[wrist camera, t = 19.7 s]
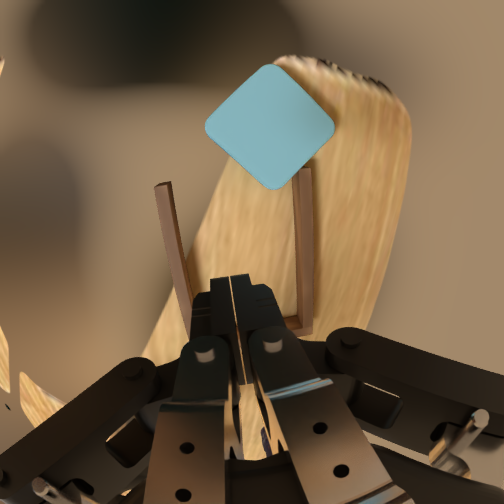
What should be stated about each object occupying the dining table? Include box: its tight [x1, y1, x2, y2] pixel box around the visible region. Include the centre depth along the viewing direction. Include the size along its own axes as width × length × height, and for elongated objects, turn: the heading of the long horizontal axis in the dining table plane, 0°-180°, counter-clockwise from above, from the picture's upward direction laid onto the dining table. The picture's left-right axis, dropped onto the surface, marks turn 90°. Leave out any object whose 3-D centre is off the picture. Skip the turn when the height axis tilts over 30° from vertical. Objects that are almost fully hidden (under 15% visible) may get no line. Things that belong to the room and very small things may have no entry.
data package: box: [205, 64, 335, 190], centre depth 31 cm, size 12×4×12 cm
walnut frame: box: [154, 166, 314, 347], centre depth 38 cm, size 19×26×4 cm
